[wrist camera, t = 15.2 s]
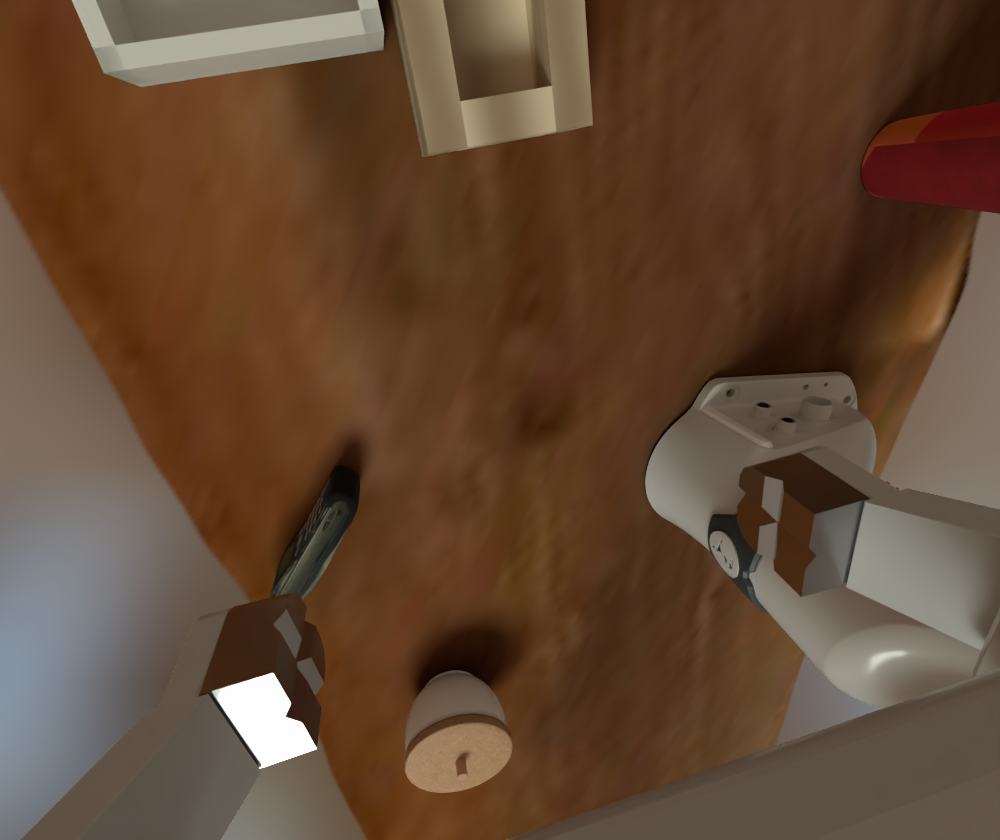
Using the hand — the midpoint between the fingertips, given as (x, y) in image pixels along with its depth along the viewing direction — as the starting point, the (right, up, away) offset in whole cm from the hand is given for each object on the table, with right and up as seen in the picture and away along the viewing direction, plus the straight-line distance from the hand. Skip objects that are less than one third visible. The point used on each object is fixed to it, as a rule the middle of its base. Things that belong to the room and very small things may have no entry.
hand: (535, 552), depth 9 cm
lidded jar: (-6, -28, +48) cm, 55 cm away
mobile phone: (-17, -7, +35) cm, 40 cm away
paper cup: (+31, +23, +32) cm, 50 cm away
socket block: (-2, +25, +23) cm, 34 cm away
